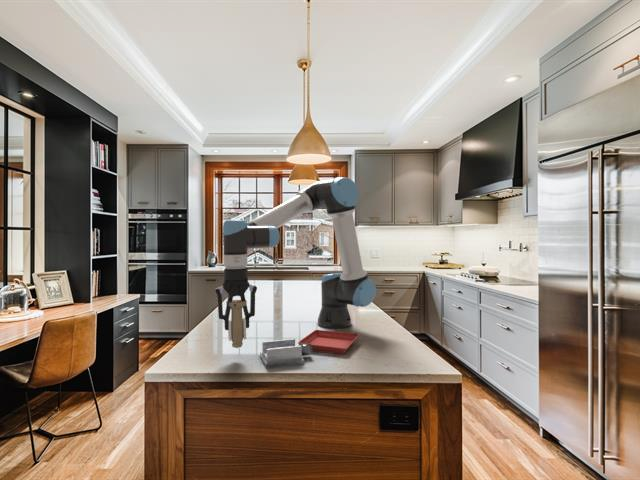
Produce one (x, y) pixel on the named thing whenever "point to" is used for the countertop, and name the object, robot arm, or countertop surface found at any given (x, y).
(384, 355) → the countertop surface
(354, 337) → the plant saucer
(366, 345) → the countertop surface
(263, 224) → the robot arm
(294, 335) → the countertop surface
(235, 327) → the handle
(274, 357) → the valve body
